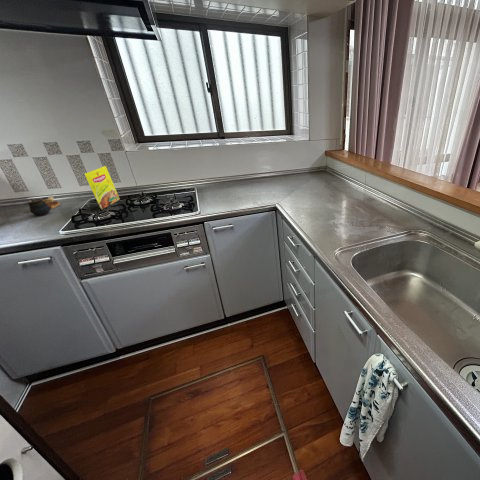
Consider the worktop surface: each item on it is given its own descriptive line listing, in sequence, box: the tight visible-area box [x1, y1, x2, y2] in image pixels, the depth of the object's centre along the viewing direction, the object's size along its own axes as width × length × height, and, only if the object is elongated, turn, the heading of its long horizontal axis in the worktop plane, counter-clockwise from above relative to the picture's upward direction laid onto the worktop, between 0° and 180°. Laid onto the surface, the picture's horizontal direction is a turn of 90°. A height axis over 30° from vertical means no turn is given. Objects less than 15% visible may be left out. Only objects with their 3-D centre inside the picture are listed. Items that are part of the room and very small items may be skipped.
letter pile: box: [39, 196, 61, 210], centre depth 149 cm, size 9×9×5 cm
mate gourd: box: [27, 197, 51, 217], centre depth 139 cm, size 7×8×10 cm
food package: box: [84, 165, 121, 210], centre depth 148 cm, size 15×1×20 cm, turn 179°
